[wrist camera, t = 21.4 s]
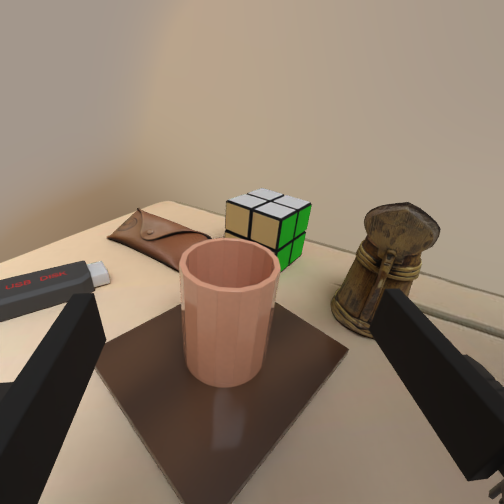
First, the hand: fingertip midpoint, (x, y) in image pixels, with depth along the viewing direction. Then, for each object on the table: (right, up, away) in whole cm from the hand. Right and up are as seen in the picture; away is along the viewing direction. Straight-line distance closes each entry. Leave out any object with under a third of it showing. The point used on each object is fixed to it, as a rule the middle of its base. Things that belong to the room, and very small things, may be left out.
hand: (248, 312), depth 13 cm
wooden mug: (+14, -6, +22) cm, 27 cm away
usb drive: (-25, -2, +22) cm, 33 cm away
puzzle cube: (+2, +2, +35) cm, 35 cm away
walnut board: (-3, -8, +16) cm, 18 cm away
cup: (-3, -7, +15) cm, 17 cm away
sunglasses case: (-16, +4, +35) cm, 38 cm away
